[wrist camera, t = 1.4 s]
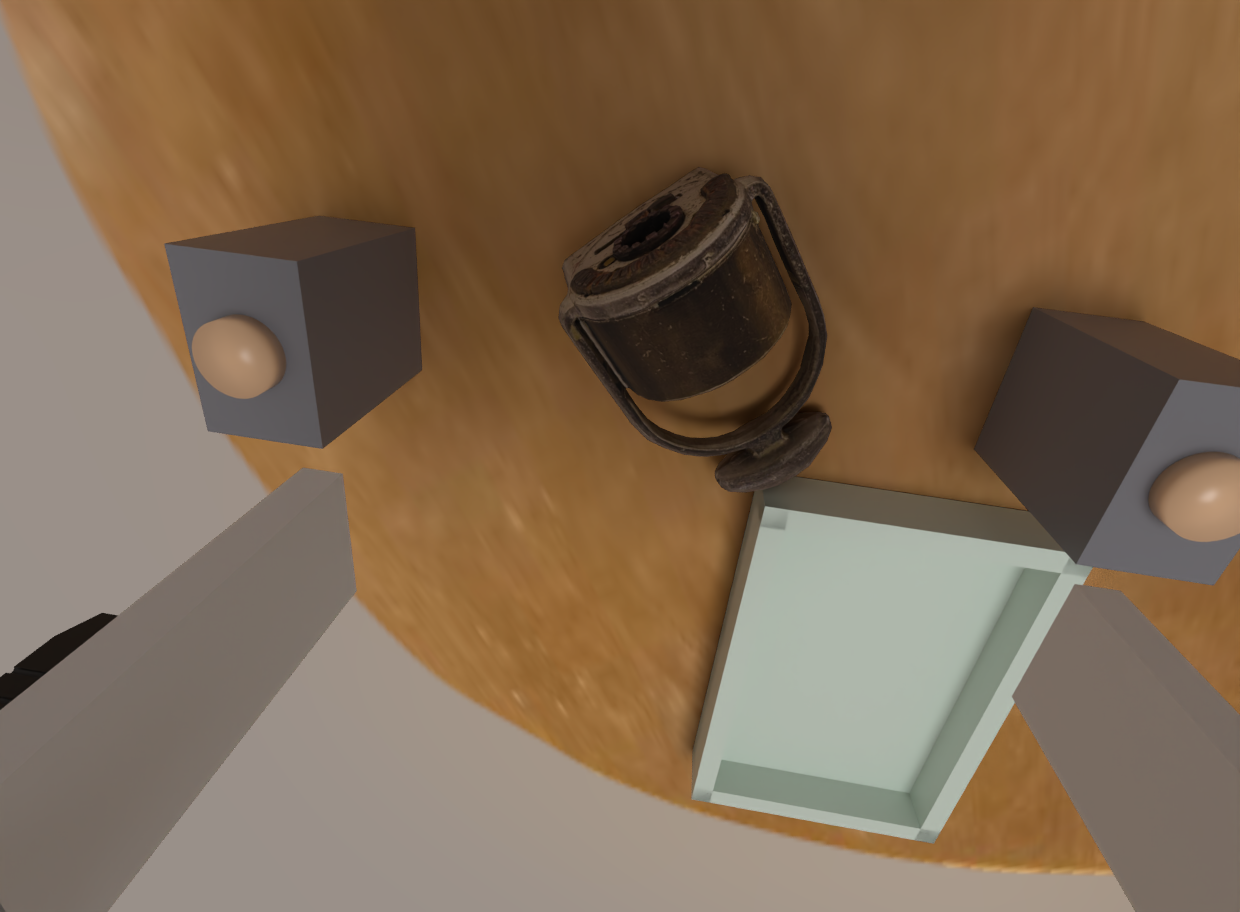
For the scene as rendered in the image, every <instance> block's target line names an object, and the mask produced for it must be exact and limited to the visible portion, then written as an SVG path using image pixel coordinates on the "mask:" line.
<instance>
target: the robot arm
mask: <svg viewBox="0 0 1240 912" xmlns="http://www.w3.org/2000/svg"><path fill="white" fill-rule="evenodd" d="M355 592H356V582H355V574H354V566H353V557H352V549H351V540H350V532H349V523H348V515H347V507H346V498H345V490H344V481H343V474H341V473H334V472H328V471H321V470H314V469H308V468H302V469H301V470H299V471H298V472H297V473H296V474H294V475H293V476H292V477H291V478H289V479H288V480H287V481H286V482H284V483H283V484H282V485H281V486H279V487H278V488H277V489H276V490H274V491H273V492H272V493H271V494H269V495H268V496H267V497H266V498H264V499H263V500H262V501H261V502H259V503H258V504H257V505H256V506H254V508H252V509H251V510H250V511H248V512H247V513H246V514H245V515H243V516H242V517H241V518H239V519H238V520H237V521H236V522H234V523H233V524H232V525H231V526H229V527H228V528H227V529H226V530H225V531H223V532H222V533H221V534H219V535H218V536H217V537H216V538H214V539H213V540H212V541H211V542H209V543H208V544H207V545H206V546H204V547H203V548H202V549H201V550H200V551H199V552H197V553H196V554H195V555H193V556H192V557H191V558H190V559H188V560H187V561H186V562H185V563H183V564H182V565H181V566H180V567H178V568H177V569H176V570H175V571H173V572H172V573H171V574H170V575H168V576H167V577H166V578H165V579H163V580H162V581H161V582H160V583H158V584H157V585H156V586H155V587H153V588H152V589H151V590H150V591H148V592H147V593H146V594H145V595H143V596H142V597H141V598H140V599H138V600H137V601H136V602H135V603H134V604H132V605H131V606H130V607H128V608H127V609H126V610H125V611H123V612H122V613H121V614H120V615H118V616H117V615H112V614H106V613H101V614H99V615H97V616H95V617H93V618H91V619H89V620H87V621H85V622H83V623H80V624H78V625H76V626H75V627H72V628H70V629H68V630H66V631H64V632H62V633H60V634H58V635H56V636H54V637H53V638H52V639H50V640H49V641H48V642H46V643H45V644H44V645H42V646H41V647H40V648H38V649H37V650H36V651H34V652H33V653H32V654H31V655H29V656H28V657H26V658H25V659H24V660H22V661H21V662H20V663H18V664H17V665H16V666H14V671H13V672H12V673H5V674H4V675H2V676H1V677H0V912H108V910H109V909H110V908H111V907H112V905H113V904H114V903H115V901H116V900H117V899H118V897H119V896H120V895H121V894H122V892H123V891H124V890H125V889H126V887H127V886H128V885H129V883H130V882H131V881H132V879H133V878H134V877H135V875H136V874H137V873H138V872H139V871H140V869H141V868H142V866H143V865H144V864H145V863H146V861H147V860H148V859H149V858H150V856H151V855H152V854H153V852H154V851H155V850H156V849H157V847H158V846H159V845H160V843H161V842H162V841H163V840H164V838H165V837H166V836H167V834H168V833H169V832H170V830H171V829H172V828H173V827H174V825H175V824H176V823H177V822H178V820H179V819H180V818H181V816H182V815H183V814H184V813H185V811H186V810H187V809H188V807H189V806H190V805H191V804H192V802H193V801H194V799H195V798H196V797H197V796H198V795H199V793H200V792H201V791H202V789H203V788H204V787H205V785H206V784H207V783H208V782H209V780H210V779H211V778H212V776H213V775H214V774H215V772H216V771H217V770H218V769H219V767H220V766H221V764H223V762H224V761H225V760H226V758H227V757H228V756H229V755H230V753H231V752H232V751H233V749H234V748H235V747H236V746H237V744H238V743H239V742H240V740H241V739H242V738H243V736H244V735H245V734H246V733H247V731H248V730H249V729H250V728H251V726H252V725H253V724H254V722H255V721H256V720H257V718H258V717H259V716H260V714H261V713H262V712H263V711H264V709H265V708H266V707H267V706H268V704H269V703H270V702H271V700H272V699H273V698H274V697H275V695H276V694H277V693H278V691H279V690H280V689H281V688H282V686H283V685H284V684H285V682H286V681H287V680H288V679H289V677H290V676H291V675H292V673H293V672H294V671H295V670H296V668H297V667H298V666H299V664H300V663H301V662H302V660H303V659H304V658H305V657H306V655H307V654H308V653H309V651H310V650H311V649H312V648H313V646H314V645H315V644H316V642H317V641H318V640H319V639H320V637H321V636H322V635H323V633H324V632H325V631H326V630H327V628H328V627H329V626H330V624H331V623H332V622H333V621H334V619H335V618H336V617H337V615H338V614H339V613H340V611H341V610H342V609H343V607H344V606H345V605H346V604H347V602H348V601H349V600H350V599H351V597H352V596H353V595H354V594H355ZM1012 698H1013V700H1014V701H1015V703H1016V705H1017V707H1018V708H1019V710H1020V712H1021V714H1022V715H1023V717H1024V719H1025V721H1026V722H1027V724H1028V726H1029V728H1030V729H1031V731H1032V733H1033V735H1034V736H1035V738H1036V740H1037V741H1038V743H1039V745H1040V747H1041V748H1042V750H1043V752H1044V754H1045V755H1046V757H1047V759H1048V761H1049V762H1050V764H1051V766H1052V768H1053V769H1054V771H1055V773H1056V775H1057V776H1058V778H1059V780H1060V781H1061V783H1062V785H1063V787H1064V788H1065V790H1066V792H1067V794H1068V795H1069V797H1070V799H1071V801H1072V802H1073V804H1074V806H1075V808H1076V809H1077V811H1078V813H1079V815H1080V816H1081V818H1082V820H1083V821H1084V823H1085V825H1086V827H1087V828H1088V830H1089V832H1090V834H1091V835H1092V837H1093V839H1094V841H1095V842H1096V844H1097V846H1098V848H1099V849H1100V851H1101V853H1102V855H1103V856H1104V858H1105V860H1106V861H1107V863H1108V865H1109V867H1110V868H1111V870H1112V872H1113V874H1114V875H1115V877H1116V879H1117V881H1118V882H1119V884H1120V886H1121V887H1122V889H1123V891H1124V893H1125V895H1126V896H1127V898H1128V900H1129V901H1130V903H1131V905H1132V907H1133V908H1134V910H1135V912H1240V715H1239V714H1238V713H1237V712H1236V711H1235V710H1234V708H1233V707H1232V706H1231V705H1230V704H1229V703H1228V702H1227V701H1226V700H1225V699H1224V698H1223V697H1222V696H1221V695H1220V694H1219V693H1218V692H1217V691H1216V690H1215V689H1214V688H1213V687H1212V686H1211V685H1210V683H1209V682H1208V681H1207V680H1206V679H1205V678H1204V677H1203V676H1202V675H1201V674H1200V673H1199V672H1198V671H1197V670H1196V669H1195V668H1194V667H1193V666H1192V665H1191V664H1190V663H1189V662H1188V661H1187V660H1186V658H1185V657H1184V656H1183V655H1182V654H1181V653H1180V652H1179V651H1178V650H1177V649H1176V648H1175V647H1174V646H1173V645H1172V644H1171V643H1170V642H1169V641H1168V640H1167V639H1166V638H1165V637H1164V636H1163V635H1162V634H1161V632H1160V631H1159V630H1158V629H1157V628H1156V627H1155V626H1154V625H1153V624H1152V623H1151V622H1150V621H1149V620H1148V619H1147V618H1146V617H1145V616H1144V615H1143V614H1142V613H1141V612H1140V611H1139V610H1138V609H1137V607H1136V606H1135V605H1134V604H1133V603H1132V602H1131V601H1130V600H1129V599H1128V598H1127V597H1126V596H1125V595H1124V594H1123V593H1122V592H1121V591H1118V590H1112V589H1105V588H1098V587H1092V586H1085V585H1078V584H1074V586H1073V588H1072V590H1071V592H1070V593H1069V595H1068V597H1067V599H1066V600H1065V602H1064V604H1063V606H1062V608H1061V609H1060V611H1059V613H1058V615H1057V617H1056V618H1055V620H1054V622H1053V624H1052V625H1051V627H1050V629H1049V631H1048V633H1047V634H1046V636H1045V638H1044V640H1043V642H1042V643H1041V645H1040V647H1039V649H1038V650H1037V652H1036V654H1035V656H1034V658H1033V659H1032V661H1031V663H1030V665H1029V667H1028V668H1027V670H1026V672H1025V674H1024V675H1023V677H1022V679H1021V681H1020V683H1019V684H1018V686H1017V688H1016V690H1015V692H1014V693H1013V695H1012Z"/></svg>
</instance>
